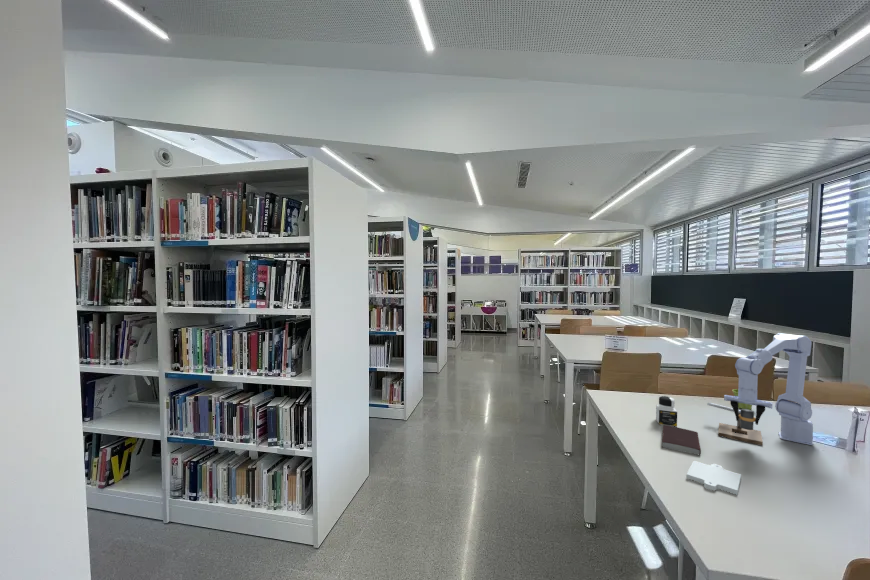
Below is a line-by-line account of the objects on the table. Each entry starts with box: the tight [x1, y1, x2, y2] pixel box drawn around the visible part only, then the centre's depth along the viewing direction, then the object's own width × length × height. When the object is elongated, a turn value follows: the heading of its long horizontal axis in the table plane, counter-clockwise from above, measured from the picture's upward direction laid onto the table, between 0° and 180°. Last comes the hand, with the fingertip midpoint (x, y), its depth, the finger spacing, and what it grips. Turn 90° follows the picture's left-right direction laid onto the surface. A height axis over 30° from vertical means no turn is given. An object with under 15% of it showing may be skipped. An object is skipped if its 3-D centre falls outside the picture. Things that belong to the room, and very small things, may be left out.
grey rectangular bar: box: [706, 402, 741, 414], centre depth 163 cm, size 13×2×1 cm, turn 30°
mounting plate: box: [685, 460, 742, 496], centre depth 119 cm, size 18×13×2 cm
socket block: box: [717, 413, 764, 447], centre depth 154 cm, size 14×14×8 cm
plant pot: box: [731, 388, 753, 410], centre depth 188 cm, size 9×9×9 cm
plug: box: [739, 408, 756, 430], centre depth 144 cm, size 5×5×7 cm
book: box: [661, 425, 702, 456], centre depth 146 cm, size 12×19×3 cm, turn 146°
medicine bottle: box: [655, 395, 678, 428], centre depth 166 cm, size 7×7×12 cm
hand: (746, 421), depth 144 cm, fingers closed on plug, 5 cm apart
